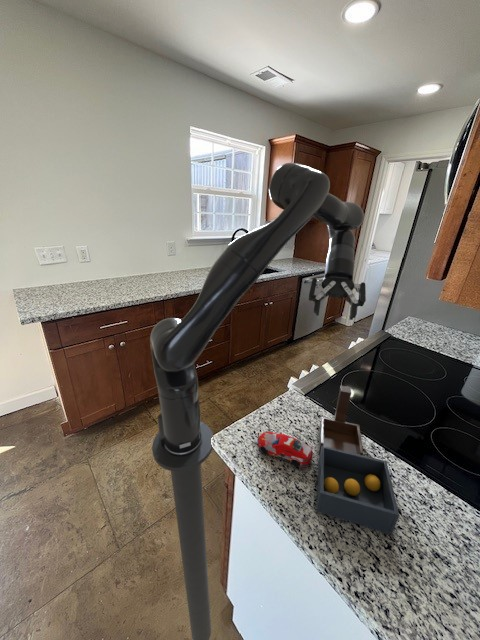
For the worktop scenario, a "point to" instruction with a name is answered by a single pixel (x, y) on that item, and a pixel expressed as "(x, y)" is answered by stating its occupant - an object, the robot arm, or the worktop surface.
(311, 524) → the worktop surface
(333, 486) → the ball
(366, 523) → the bin
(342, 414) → the scoop
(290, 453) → the race car
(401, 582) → the worktop surface
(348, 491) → the ball
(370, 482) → the ball
